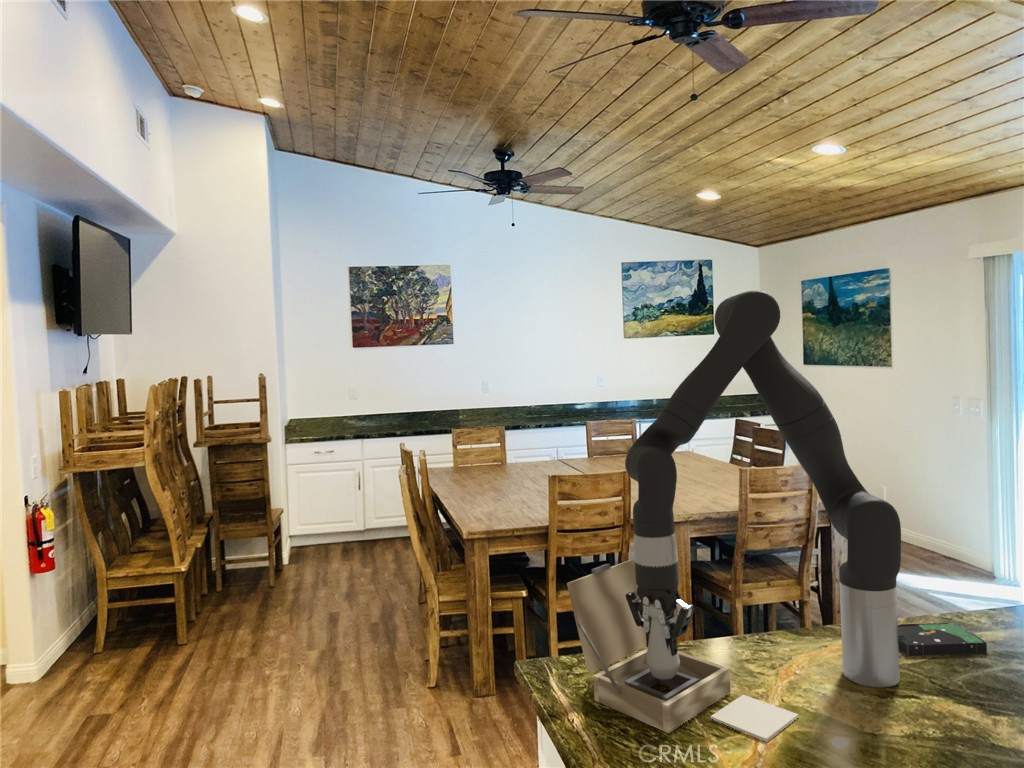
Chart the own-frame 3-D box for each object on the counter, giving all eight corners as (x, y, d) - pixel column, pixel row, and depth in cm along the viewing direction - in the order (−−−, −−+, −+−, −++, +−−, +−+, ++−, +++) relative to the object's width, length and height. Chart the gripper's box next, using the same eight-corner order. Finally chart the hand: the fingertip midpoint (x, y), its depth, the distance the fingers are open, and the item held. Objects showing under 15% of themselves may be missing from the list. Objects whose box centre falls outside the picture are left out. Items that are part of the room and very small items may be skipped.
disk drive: (908, 659, 136) (988, 656, 135) (908, 645, 136) (988, 641, 135) (883, 637, 146) (957, 634, 145) (882, 624, 146) (956, 620, 145)
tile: (743, 697, 124) (743, 694, 124) (798, 717, 116) (798, 714, 116) (710, 719, 117) (710, 716, 117) (766, 742, 110) (766, 738, 110)
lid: (655, 641, 138) (650, 641, 139) (633, 555, 140) (628, 555, 141) (592, 673, 126) (587, 673, 127) (569, 578, 128) (565, 578, 129)
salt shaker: (683, 680, 122) (679, 606, 122) (650, 683, 123) (645, 609, 122) (676, 665, 128) (671, 595, 128) (644, 668, 128) (640, 597, 128)
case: (647, 662, 139) (644, 593, 139) (730, 693, 126) (727, 616, 125) (580, 698, 127) (576, 622, 126) (664, 736, 113) (660, 651, 112)
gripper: (702, 559, 122) (708, 658, 122) (637, 546, 132) (643, 637, 133) (676, 570, 117) (682, 673, 118) (611, 556, 127) (617, 650, 128)
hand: (662, 653), depth 125 cm, fingers closed on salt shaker, 3 cm apart
